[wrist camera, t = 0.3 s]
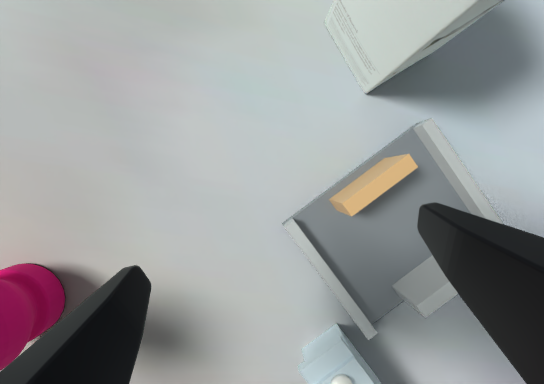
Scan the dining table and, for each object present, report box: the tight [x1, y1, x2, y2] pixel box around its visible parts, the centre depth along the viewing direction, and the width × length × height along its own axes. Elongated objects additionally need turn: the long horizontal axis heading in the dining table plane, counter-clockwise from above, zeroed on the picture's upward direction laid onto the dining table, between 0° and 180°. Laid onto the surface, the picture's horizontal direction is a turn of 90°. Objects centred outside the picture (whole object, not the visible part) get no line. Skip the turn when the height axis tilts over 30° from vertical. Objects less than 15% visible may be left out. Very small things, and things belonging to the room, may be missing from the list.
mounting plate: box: [282, 118, 503, 340], centre depth 20 cm, size 12×15×4 cm
